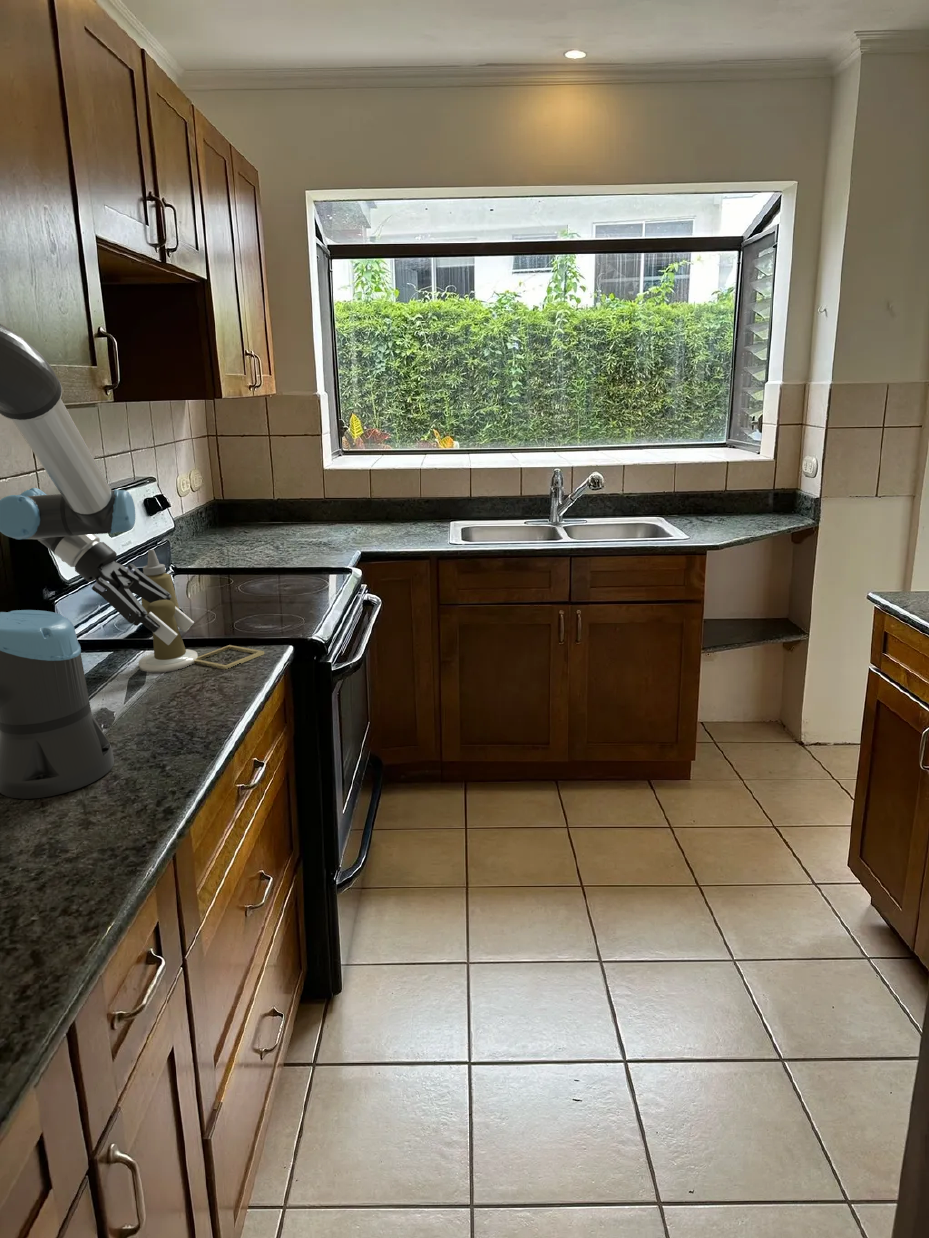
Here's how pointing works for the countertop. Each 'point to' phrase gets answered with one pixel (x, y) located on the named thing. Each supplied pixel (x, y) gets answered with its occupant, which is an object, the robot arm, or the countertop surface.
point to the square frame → (255, 654)
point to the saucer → (167, 662)
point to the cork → (166, 614)
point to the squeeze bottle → (158, 577)
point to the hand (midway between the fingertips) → (181, 633)
